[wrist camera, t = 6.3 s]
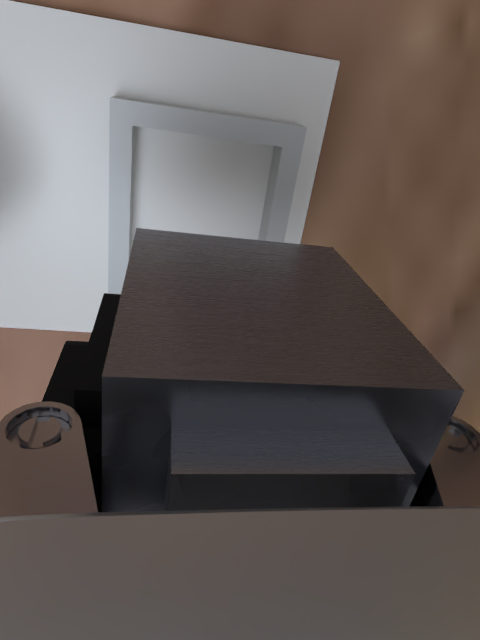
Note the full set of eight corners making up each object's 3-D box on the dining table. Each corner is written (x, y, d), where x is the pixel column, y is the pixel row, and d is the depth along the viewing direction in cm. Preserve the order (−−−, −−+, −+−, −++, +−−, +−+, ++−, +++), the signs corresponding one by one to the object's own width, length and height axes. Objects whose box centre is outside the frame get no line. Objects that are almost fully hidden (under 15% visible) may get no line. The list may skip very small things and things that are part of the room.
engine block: (332, 247, 12) (499, 429, 6) (288, 423, 14) (368, 668, 8) (136, 227, 11) (92, 421, 5) (129, 420, 13) (95, 692, 8)
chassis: (332, 61, 22) (378, 58, 17) (275, 333, 30) (295, 386, 25) (-225, -41, 18) (-380, -85, 13) (-130, 309, 25) (-204, 367, 20)
